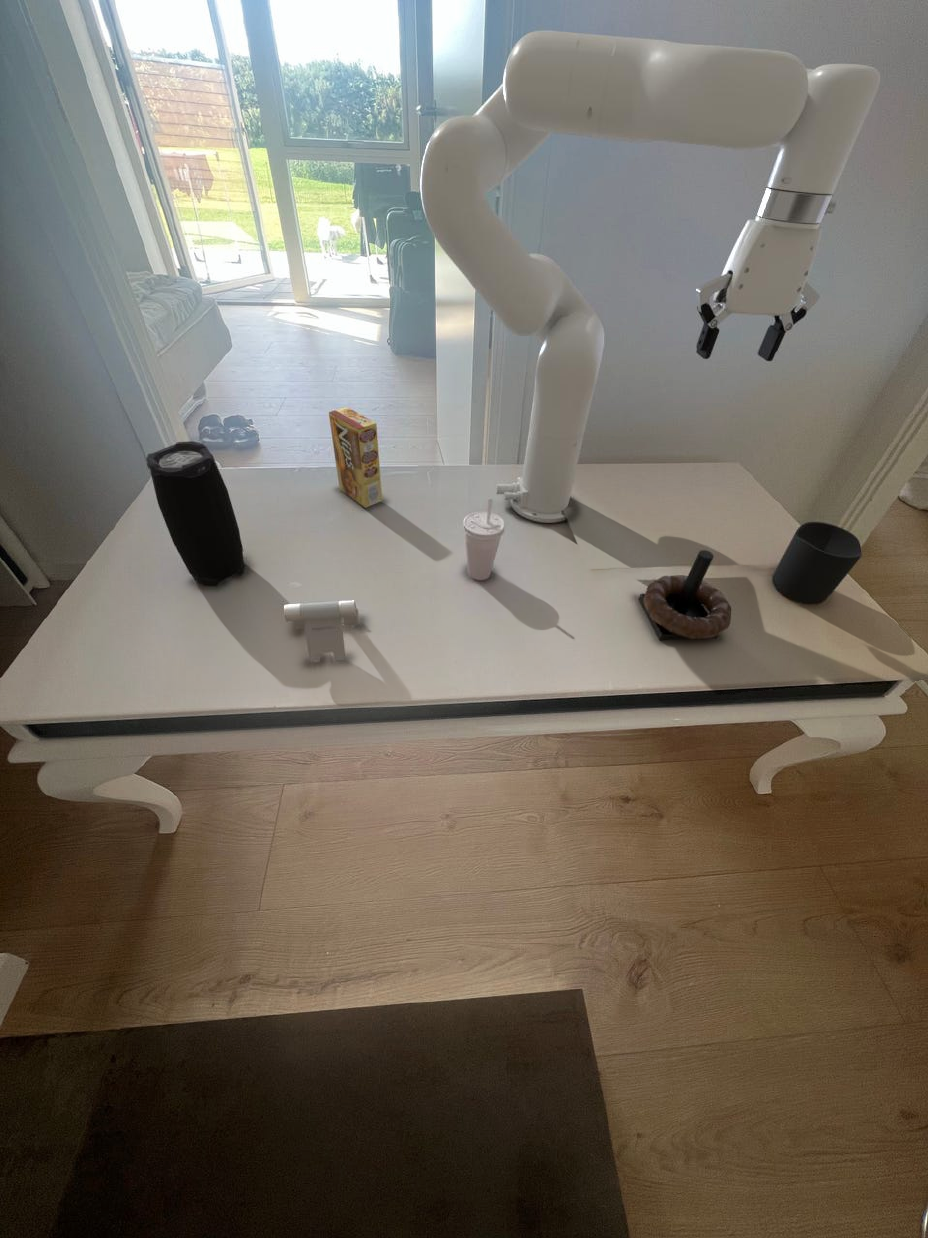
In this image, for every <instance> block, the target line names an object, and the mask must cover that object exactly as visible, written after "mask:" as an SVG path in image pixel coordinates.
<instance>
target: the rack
mask: <svg viewBox="0 0 928 1238" xmlns="http://www.w3.org/2000/svg"><path fill="white" fill-rule="evenodd" d="M714 557H715V556H714V553H712V552H711V551H710V550H707V549H706V550H705V549H702V550H699V551H698V553H697V555H696V557H695V560H694V562H693V564H692V565H691V569H690V570H689V573H688V575H687V576H688V577H687V579H686V581H685V583H684V586H683V588H682V590H681V592H680V594H679V595H669V596H667V597H666V601H667V603H668V605H669V606H670V607H672V608H673V609H675V610H676V611H677V612H679V613H681V614H684V615H687V616H691V617H694V618H696V617H706V616H708V614H709V612H708V611H707V609H706V607H705V606H704V605H703V604H701V603H700V602H698V601H697V600H695V599H694V596H695V594H696V592H697V590H698V588H699V586H700V584H701V582H702V581H704V578H705V576H706V574H707V572H708V570H709V567H710V566H711V564H712V562H713V560H714ZM644 597H645V593H640V594H639V596H638V601H639V603H640V606H641V607H642V610H643V611H644V613H645V616H646V617H647V619H648V621H649V624H650V625H651V627H652V629H653V631H654V633H655V635H656V637H657V639H658V641H675V640H678V641H679V640H692V639H691V638H687V637H684V636H681V635H678V634H675V633H671V632H669V631H667V630H666V629H665V628H663V627H662V626H661V625H659V624H658V623H657V622H655V621H654V620H653V619H652V618H651V616H650V615H649V613H648V611H647V609H646V607H645V605H644ZM719 635H720V633H719V634H718V635H716V636H715V637H712V638H711V639H717V638H718V636H719ZM703 639H706V638H695V639H694V640H703Z"/></svg>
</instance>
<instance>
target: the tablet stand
mask: <svg viewBox="0 0 928 1238" xmlns="http://www.w3.org/2000/svg"><path fill="white" fill-rule="evenodd" d="M283 615H284V616H283V617H284V620H285V622H286V623H288V622H289V623H290V622H292V623H293V625H294V627H295V630H302V631H303V630H304V632H305V641H306V647H307V655H308V661H309V662H310V663H320V662H321V654H323V653H332V654H333V657H334V660H335V662H336V661H344V660H345V659H346V649H345V640H344V629H343V627H355V626H360V613H359V608H357V605H356V600H355V599H353V600H351V599H350V600H337V601H323V602H322V601H321V602H307V603H291V604H284V606H283Z"/></svg>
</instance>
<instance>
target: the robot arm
mask: <svg viewBox="0 0 928 1238" xmlns="http://www.w3.org/2000/svg"><path fill="white" fill-rule="evenodd" d="M880 84H881V74H880V71H879V70H878V69H877V68H876V67H873V66H870V65H866V64H857V63H855V64H854V63H829V64H828V63H827V64H822V65H820V66H817V67H816V68H814V69H813V68H806V67H805V64H804V63H803V62H802V60H801V59H800V58H799V57H797V55H795V54H793V53H790V52H786V51H782V50H774V49H761V48H751V47H738V46H725V45H715V44H714V45H713V44H712V45H710V44H699V43H698V44H697V43H695V44H694V43H682V42H675V41H669V40H664V39H657V38H656V39H655V38H653V39H652V38H643V37H642V38H641V37H628V36H617V35H603V34H595V33H594V34H592V33H581V32H572V31H571V32H569V31H559V30H548V29H546V30H545V29H543V30H535V31H531V32H528V33H527V34H525V35H523V36H522V37H521V38H520V39H519V40H518V41H516V43H515V45H514V46H513V48H512V49H511V51H510V53H509V54H508V57H507V61H506V63H505V67H504V70H503V81H502V83H501V84H500V86H499V87H498V88H497V89H496V90H495V91H494V92H493V93H492V95H490V97H489V98H488V99H487V100H486V101H485V102H484V103H483V104H482V105H481V106H480V108H478V110H476V112H475V113H474V114H473V115H457V116H454V117H451V118H449V119H447V120H445V121H444V122H442V123H440V125H439V126H437V128H436V129H435V130H434V132H432V135H431V137H430V138H429V140H428V143H427V144H426V147H425V150H424V154H423V159H422V163H421V169H420V199H421V204H422V209H423V213H424V215H425V219H426V223H427V225H428V227H429V229H430V232H431V233H432V235H433V237H434V238H435V240H436V242H437V243H438V244H439V247H441V250H443V251H444V253H445V254H446V255H447V257H448V258H449V259H450V260H451V261H452V263H453V264H454V265H455V266H456V267H457V269H458V270H459V271H460V272H461V273H462V274H463V276H464V277H465V278H466V280H467V281H468V282H469V284H470V285H471V286H472V287H473V289H474V290H475V291H476V292H477V294H478V295H479V296H480V298H481V299H482V300H483V301H484V302H485V303H486V305H487V306H488V307H489V309H490V310H491V311H492V312H493V313H494V315H495V316H496V317H497V318H498V320H499V321H500V322H501V323H502V325H503V326H504V327H505V328H506V329H507V330H508V331H510V332H511V333H512V334H514V335H516V336H520V337H529V336H532V335H533V336H534V337H535V338H536V339H537V341H538V342H539V343H540V344H541V345H542V346H541V348H540V351H539V354H538V357H537V362H536V367H535V374H534V375H535V377H534V388H533V396H532V397H533V399H532V405H531V406H532V407H531V411H530V418H529V428H528V434H527V441H526V449H525V454H524V455H525V456H524V462H523V468H522V476H518V477H517V482H512V483H511V484H507V483H496V484H495V489H494V491H495V495H503V500H504V501H510V505H511V507H512V509H513V510H514V512H516V513H517V514H518V515H519V516H521V517H523V518H525V519H527V520H529V521H532V522H533V521H534V522H537V523H543V524H554V523H560V522H564V521H566V520H568V519H567V516H566V513H565V511H564V510H565V509H566V508H568V506H569V503H570V499H571V494H572V490H573V486H574V481H575V477H576V472H577V467H578V464H579V459H580V455H581V449H582V446H583V441H584V436H585V433H586V427H587V423H588V418H589V414H590V411H591V410H590V409H591V405H592V401H593V396H594V392H595V387H596V384H597V382H598V381H597V380H598V377H599V372H600V368H601V365H602V364H601V363H602V360H603V359H602V358H603V354H604V348H605V329H604V327H603V323H602V322H601V320H600V318H599V317H598V316H597V314H596V313H595V311H594V310H593V309H592V307H591V306H590V304H589V303H588V302H587V301H586V300H585V298H584V296H583V295H582V294H581V293H580V292H579V290H578V289H577V288H576V286H575V285H574V283H573V282H572V281H571V279H570V278H569V277H568V275H567V274H566V273H565V271H564V270H563V269H562V268H561V267H560V265H559V264H558V263H557V262H555V261H554V260H553V259H552V258H550V257H549V256H547V255H544V254H541V253H528V251H527V250H526V249H525V248H524V247H523V245H522V244H521V243H520V241H518V239H517V238H516V236H515V235H514V234H513V232H512V231H511V229H510V228H509V227H508V225H507V224H506V222H504V221H503V219H502V218H501V217H500V216H499V215H498V214H497V213H496V212H495V211H494V210H493V209H492V207H491V205H490V204H489V202H488V200H487V197H486V195H488V194H489V193H492V192H493V191H494V190H495V189H497V188H498V187H499V186H500V185H501V184H502V183H504V181H505V180H507V179H508V178H509V176H511V174H513V173H514V171H516V170H517V168H519V167H520V166H521V165H522V164H523V163H524V162H525V161H526V160H527V159H528V158H529V157H530V156H531V155H532V154H533V153H534V152H535V151H536V150H537V149H538V148H539V147H540V146H541V145H542V144H543V143H544V142H545V141H546V140H547V139H548V138H549V137H550V136H551V135H552V134H561V135H570V136H577V137H578V136H579V137H587V138H594V139H595V138H596V139H603V140H612V141H621V142H629V143H636V144H638V143H639V144H641V143H649V142H667V143H668V142H669V143H678V144H689V145H696V146H697V145H698V146H706V147H707V146H708V147H714V148H715V147H716V148H723V149H731V150H738V151H747V152H760V151H763V150H767V149H769V148H776V147H777V148H779V151H778V154H777V157H776V159H775V162H774V165H773V168H772V170H771V173H770V176H769V179H768V181H767V184H766V187H765V191H764V193H763V196H762V198H761V202H760V203H759V207H758V210H757V212H756V215H755V218H754V219H747V221H746V222H745V225H744V226H743V228H742V230H741V231H740V234H739V236H738V237H737V240H736V241H735V243H734V245H733V247H732V250H731V251H730V253H729V254H730V255H728V259H727V261H726V263H725V266H724V268H723V271H722V273H721V275H720V276H718V277H716V278H714V279H712V280H710V281H708V282H705V283H704V284H702V285H700V286H698V287H697V288H696V290H695V295H696V296H695V297H696V304H697V306H696V309H697V312H698V314H699V317H700V318H701V322H702V323H703V324H702V327H701V330H700V334H699V337H698V339H697V342H696V345H695V346H696V354H697V355H698V356H700V357H701V358H702V359H704V360H709V359H710V358H711V356H712V353H713V350H714V348H715V344H716V341H717V339H718V336H719V334H720V328H719V327H718V326H719V325H720V324H721V323H722V322H723V321H725V319H727V318H728V317H729V316H730V315H731V314H734V315H748V316H750V315H751V316H772V319H773V320H772V321H773V324H769V326H768V327H767V330H766V332H765V335H764V337H763V339H762V341H761V344H760V345H759V349H758V351H757V355H758V356H759V357H760V358H762V359H764V361H766V362H772V361H773V360H774V357H775V356H776V354H777V352H778V351H779V348H780V346H781V344H782V342H783V340H784V337H785V335H786V333H787V332H789V331H791V330H792V329H793V328H794V325H795V324H797V323H798V322H799V321H801V320H802V319H804V318H805V316H806V315H807V312H808V311H810V310H811V309H812V308H813V306H815V304H816V303H817V302H818V301H819V299H820V297H821V296H820V293H818V292H817V291H816V289H814V287H812V286H811V285H810V284H809V283H808V278H809V275H810V272H811V269H812V266H813V264H814V261H815V258H816V254H817V252H818V248H819V244H820V240H821V236H822V231H823V227H822V226H820V225H821V223H822V221H823V220H824V218H825V215H831V214H833V212H834V211H835V209H836V207H837V201H836V200H832V198H833V196H834V192H835V191H836V188H837V185H838V184H839V182H840V178H841V176H842V174H843V172H844V170H845V167H846V165H847V162H848V160H849V158H850V155H851V153H852V150H853V148H854V146H855V144H856V141H857V139H858V137H859V136H860V135H859V134H860V132H861V130H862V128H863V125H864V123H865V120H866V118H867V116H868V114H869V112H870V109H871V107H872V105H873V102H874V100H875V97H876V95H877V92H878V90H879V87H880ZM712 295H713V298H712V299H713V300H712V301H713V303H714V304H713V305H712V306H711V305H710V298H711V296H712ZM800 297H801V300H800V301H799V299H800ZM798 301H799V303H798ZM797 303H798V305H797Z"/></svg>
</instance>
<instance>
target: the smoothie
mask: <svg viewBox="0 0 928 1238" xmlns="http://www.w3.org/2000/svg"><path fill="white" fill-rule="evenodd" d="M487 499H488V501H487V509H486V511H474V512H472V513H469V514H468V515H466V516H465V517H464V518H463V523H462V530H463V533H464V538H465V551H466V565H467V575H468V576H469V577H470V578H471V579H473V580H475V581H485V580H487V579H488V578H489V579H490V576H491V573H492V569H493V566H494V564H495V563H494V562H495V559H496V556H497V552H498V548H499V545H500V542H501V538H502V536H503V535H504V533H505V527H506V522H505V521H504V519H503V518H502V517H501V516H500V515H497V514H495V513H492V505H493V497H492V496H489V497H488V498H487Z"/></svg>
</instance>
